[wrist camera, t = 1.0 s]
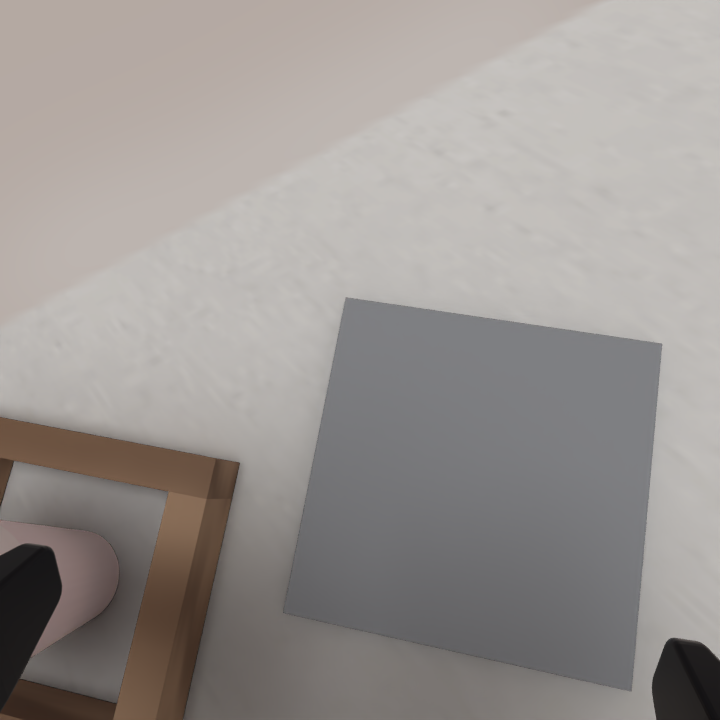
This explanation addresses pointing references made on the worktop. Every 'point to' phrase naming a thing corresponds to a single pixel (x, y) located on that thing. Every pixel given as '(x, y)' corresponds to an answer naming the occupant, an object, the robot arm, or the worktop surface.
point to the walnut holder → (166, 575)
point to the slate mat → (482, 489)
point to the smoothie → (70, 573)
